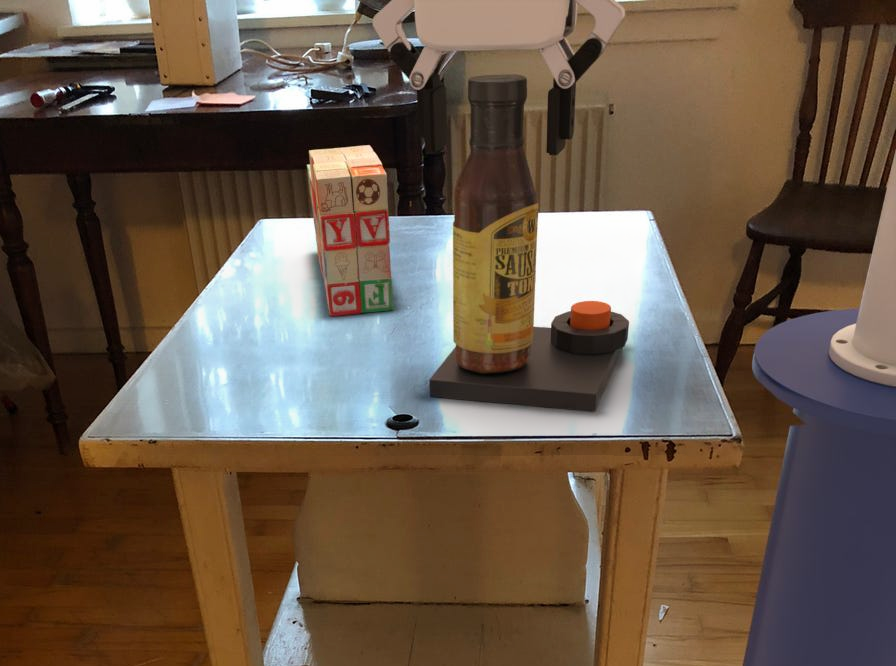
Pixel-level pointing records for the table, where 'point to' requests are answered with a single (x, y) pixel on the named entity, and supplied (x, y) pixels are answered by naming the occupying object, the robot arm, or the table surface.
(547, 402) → the scale
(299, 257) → the table surface
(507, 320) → the sauce bottle
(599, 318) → the button
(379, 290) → the stack of blocks
